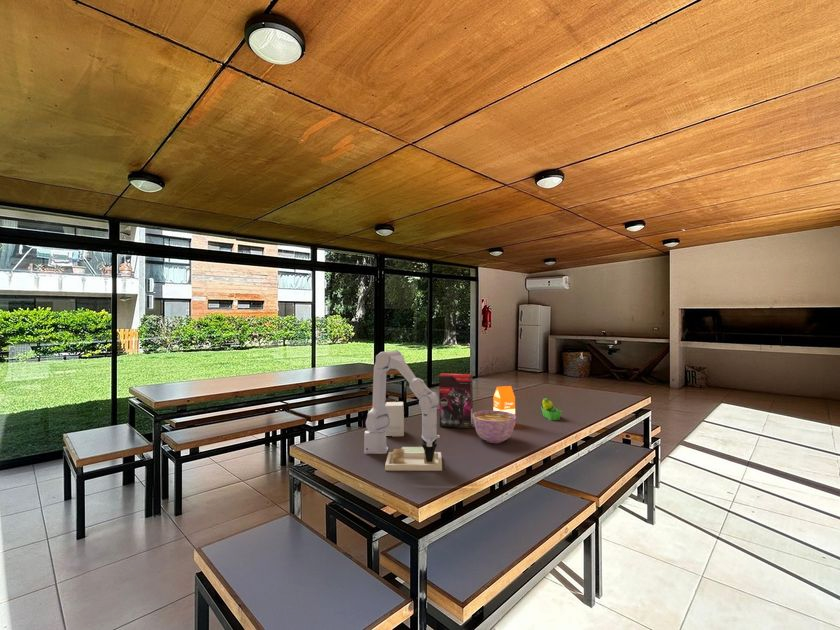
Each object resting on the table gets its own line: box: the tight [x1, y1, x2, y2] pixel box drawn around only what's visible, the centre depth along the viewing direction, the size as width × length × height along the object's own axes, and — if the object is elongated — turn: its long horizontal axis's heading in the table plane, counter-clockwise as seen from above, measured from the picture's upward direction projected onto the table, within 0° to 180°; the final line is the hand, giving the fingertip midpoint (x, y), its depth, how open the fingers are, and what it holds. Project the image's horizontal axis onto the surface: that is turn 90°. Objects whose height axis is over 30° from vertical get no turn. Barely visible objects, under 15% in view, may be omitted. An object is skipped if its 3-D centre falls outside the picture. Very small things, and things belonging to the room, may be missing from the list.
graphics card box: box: [438, 372, 474, 429], centre depth 207 cm, size 17×7×27 cm, turn 73°
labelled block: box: [424, 451, 436, 464], centre depth 154 cm, size 4×4×5 cm
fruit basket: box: [540, 397, 563, 421], centre depth 223 cm, size 11×9×11 cm
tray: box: [384, 451, 443, 472], centre depth 154 cm, size 21×14×2 cm, turn 89°
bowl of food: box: [472, 409, 517, 444], centre depth 183 cm, size 20×20×12 cm
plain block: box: [392, 448, 404, 464], centre depth 154 cm, size 4×4×5 cm
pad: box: [401, 446, 424, 452], centre depth 168 cm, size 12×10×1 cm
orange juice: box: [492, 385, 516, 416], centre depth 211 cm, size 8×9×20 cm
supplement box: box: [385, 401, 405, 437], centre depth 194 cm, size 9×9×15 cm
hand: (429, 459), depth 154 cm, fingers closed on labelled block, 4 cm apart
